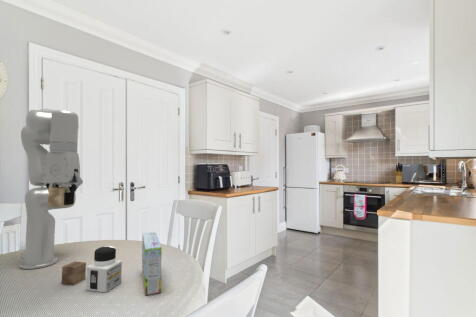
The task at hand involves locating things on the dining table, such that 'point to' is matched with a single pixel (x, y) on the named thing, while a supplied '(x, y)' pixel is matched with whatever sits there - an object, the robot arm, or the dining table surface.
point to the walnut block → (73, 273)
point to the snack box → (151, 263)
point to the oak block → (57, 197)
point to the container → (104, 270)
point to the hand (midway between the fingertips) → (61, 203)
